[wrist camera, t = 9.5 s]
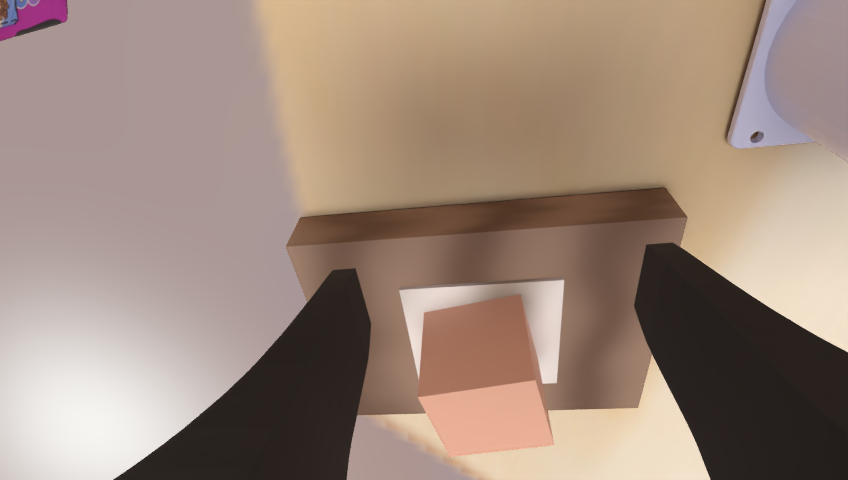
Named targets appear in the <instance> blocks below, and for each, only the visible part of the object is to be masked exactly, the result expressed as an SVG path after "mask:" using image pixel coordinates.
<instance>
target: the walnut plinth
mask: <svg viewBox="0 0 848 480" xmlns="http://www.w3.org/2000/svg"><path fill="white" fill-rule="evenodd" d="M686 221H687V216H686V214H685V213H684V212H683V211H682V209H681V208H680V207H679V205H678V204H677V203H676V201H675V200H674V199H673V197H672V196H671V195H670V193H669V192H668V191H667V190H666V188H658V189H646V190H634V191H622V192H609V193H597V194H585V195H572V196H560V197H548V198H536V199H523V200H511V201H499V202H487V203H474V204H462V205H450V206H438V207H425V208H413V209H401V210H388V211H376V212H364V213H352V214H339V215H327V216H315V217H303V218H300V219H299V221H298V223H297V225H296V227H295V229H294V231H293V233H292V235H291V237H290V239H289V242H288V243H287V245H286V249H287V251H288V254H289V256H290V259H291V261H292V264H293V266H294V269H295V272H296V274H297V277H298V279H299V282H300V284H301V287H302V289H303V292H304V295H305V297H306V300H307V302H308V301H309V300H310V299H311V297H312V296H313V295H314V293H315V292H316V291H317V289H318V288H319V287H320V285H321V284H322V283H323V281H324V280H325V279H326V278H327V276H328V275H329V274H330V273H331V272H332V270H339V269H352V268H356V272H357V275H358V279H359V282H360V286H361V289H362V293H363V296H364V300H365V303H366V307H367V310H368V314H369V317H370V321H371V334H370V348H369V359H368V364H367V369H366V374H365V379H364V384H363V389H362V394H361V398H360V403H359V408H358V413H357V415H381V414H419V413H426V412H425V410H424V408H423V406H422V404H421V403H420V401H419V399H418V387H419V373H420V360H421V346H422V333H423V319H424V312H430V311H435V310H440V309H445V308H450V307H456V306H461V305H466V304H471V303H477V302H482V301H487V300H492V299H497V298H503V297H508V296H513V295H518V294H521V297H522V301H523V305H524V309H525V312H526V316H527V320H528V323H529V327H530V331H531V335H532V338H533V342H534V346H535V350H536V353H537V357H538V362H539V367H540V373H541V378H542V383H543V389H544V394H545V399H546V405H547V410H574V409H613V408H638V406H639V402H640V398H641V394H642V390H643V387H644V383H645V379H646V375H647V371H648V367H649V363H650V360H651V356H652V353H651V351H650V349H649V347H648V345H647V342H646V340H645V337H644V334H643V331H642V329H641V326H640V323H639V320H638V317H637V314H636V311H635V308H634V302H635V297H636V292H637V287H638V282H639V277H640V273H641V268H642V263H643V258H644V253H645V248H646V244H659V243H671V242H673V243H674V244H676V245H678V246H679V247H680V244H681V241H682V237H683V233H684V229H685V225H686Z"/></svg>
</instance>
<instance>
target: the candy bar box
mask: <svg viewBox="0 0 848 480" xmlns="http://www.w3.org/2000/svg"><path fill="white" fill-rule="evenodd" d="M67 13H68V11H67V0H0V41H2V40H6V39H9V38H12V37H16V36H20V35H23V34H26V33H30V32H33V31H37V30H40V29H44V28H47V27H50V26H54V25H57V24H60V23H63V22H66V21H67Z"/></svg>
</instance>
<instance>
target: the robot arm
mask: <svg viewBox="0 0 848 480" xmlns="http://www.w3.org/2000/svg"><path fill="white" fill-rule="evenodd" d="M758 131H759V133H758V135H757V136H756V137H755V138H753V139H750V137H751V136H752V134H754V133H755V132H758ZM727 141H728V143H729V144H730V145H731V146H732V147H734V148H737V149H744V148H755V147H766V146H777V145H788V144H799V143H811V142H817V143H819V144H820V145H822V146H824V147H825V148H827V149H828V150H830V151H831V152H833V153H834V154H836V155H838V156H839V157H841V158H842V159H844V160H845V161H847V162H848V0H766V4H765V7H764V11H763V14H762V18H761V21H760V25H759V28H758V32H757V35H756V39H755V42H754V46H753V49H752V53H751V56H750V60H749V63H748V67H747V70H746V74H745V77H744V80H743V84H742V87H741V91H740V94H739V98H738V101H737V105H736V108H735V112H734V115H733V119H732V122H731V126H730V129H729V133H728V137H727ZM634 308H635V311H636V314H637V317H638V320H639V323H640V326H641V329H642V331H643V334H644V337H645V340H646V342H647V345H648V347H649V349H650V351H651V353H652V355H653V357H654V359H655V361H656V363H657V365H658V367H659V369H660V371H661V373H662V375H663V377H664V379H665V381H666V383H667V385H668V386H669V388H670V390H671V392H672V394H673V396H674V398H675V400H676V402H677V404H678V406H679V408H680V410H681V412H682V414H683V416H684V418H685V420H686V422H687V424H688V426H689V428H690V430H691V432H692V435H693V437H694V439H695V441H696V443H697V446H698V448H699V451H700V453H701V456H702V459H703V461H704V464H705V466H706V469H707V471H708V474H709V477H710V479H711V480H848V352H846V351H844V350H842V349H840V348H838V347H837V346H835V345H833V344H831V343H829V342H827V341H825V340H823V339H822V338H820V337H818V336H816V335H814V334H813V333H811V332H809V331H807V330H806V329H804V328H802V327H801V326H799V325H797V324H796V323H794V322H792V321H791V320H789V319H787V318H786V317H784V316H782V315H781V314H779V313H777V312H776V311H774V310H772V309H771V308H769V307H768V306H766V305H765V304H763V303H761V302H760V301H758V300H757V299H755V298H754V297H752V296H751V295H749V294H748V293H746V292H745V291H743V290H742V289H740V288H739V287H737V286H736V285H734V284H733V283H731V282H730V281H728V280H727V279H725V278H724V277H723V276H721V275H720V274H718V273H717V272H715V271H714V270H713V269H711V268H710V267H708V266H707V265H705V264H704V263H702V262H701V261H700V260H698V259H697V258H695V257H694V256H692V255H691V254H690V253H688V252H687V251H685V250H684V249H682V248H681V247H679V246H678V245H676V244H674V243H673V242H671V243H659V244H646V248H645V253H644V258H643V263H642V268H641V273H640V277H639V282H638V287H637V292H636V297H635V302H634ZM370 334H371V321H370V317H369V314H368V310H367V307H366V303H365V300H364V296H363V293H362V289H361V286H360V282H359V279H358V275H357V272H356V268H352V269H339V270H332V272H331V273H330V274H329V275H328V276H327V278H326V279H325V280H324V281H323V283H322V284H321V285H320V287H319V288H318V289H317V291H316V292H315V293H314V295H313V296H312V297H311V299H310V300H309V301H308V302H307V304H306V305H305V306H304V308H303V309H302V310H301V311H300V313H299V314H298V315H297V316H296V318H295V319H294V320H293V321H292V323H291V324H290V325H289V326H288V327H287V329H286V330H285V331H284V332H283V333H282V335H281V336H280V337H279V338H278V339H277V340H276V341H275V343H274V344H273V345H272V346H271V347H270V348H269V349H268V351H267V352H266V353H265V354H264V355H263V356H262V357H261V358H260V359H259V361H258V362H257V363H256V364H255V365H254V366H253V367H252V368H251V369H250V370H249V371H248V372H247V373H246V374H245V375H244V376H243V377H242V378H241V379H240V380H239V381H238V382H236V383H235V384H234V385H233V386H232V387H231V388H230V389H229V390H228V391H227V392H226V393H225V394H224V395H223V396H222V397H220V398H219V399H218V400H217V401H216V402H214V403H213V404H212V405H211V406H210V407H209V408H208V409H206V410H205V411H204V412H203V413H202V414H200V415H199V416H198V417H197V418H196V419H194V420H193V421H192V422H191V423H190V424H189V425H187V426H186V427H185V428H184V429H183V430H181V431H180V432H179V433H177V434H176V435H175V436H173V437H172V438H171V439H169V440H168V441H167V442H166V443H164V444H163V445H162V446H160V447H159V448H158V449H156V450H155V451H154V452H152V453H151V454H149V455H148V456H147V457H145V458H144V459H143V460H141V461H140V462H138V463H137V464H136V465H134V466H133V467H131V468H130V469H128V470H127V471H126V472H124V473H123V474H121V475H120V476H118V477H117V478H115V479H114V480H346V479H347V470H348V461H349V454H350V448H351V441H352V436H353V432H354V427H355V422H356V417H357V413H358V408H359V403H360V398H361V394H362V389H363V384H364V379H365V374H366V369H367V364H368V359H369V348H370Z"/></svg>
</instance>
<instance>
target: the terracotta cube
mask: <svg viewBox="0 0 848 480" xmlns="http://www.w3.org/2000/svg"><path fill="white" fill-rule="evenodd" d="M418 399H419V401H420V403H421V404H422V406H423V408H424V410H425V412H426V414H427V415H428V417H429V419H430V421H431V423H432V424H433V426H434V428H435V430H436V432H437V434H438V435H439V437H440V439H441V441H442V443H443V445H444V446H445V448H446V450H447V452H448V454H449V456H450V457H452V456H461V455H470V454H479V453H488V452H497V451H505V450H514V449H523V448H532V447H541V446H549V445H554V442H553V437H552V431H551V426H550V421H549V415H548V410H547V405H546V399H545V394H544V389H543V383H542V378H541V373H540V367H539V362H538V357H537V353H536V350H535V346H534V342H533V338H532V335H531V331H530V327H529V323H528V320H527V316H526V312H525V309H524V305H523V301H522V297H521V294H518V295H513V296H508V297H503V298H497V299H492V300H487V301H482V302H477V303H471V304H466V305H461V306H456V307H450V308H445V309H440V310H435V311H430V312H424V319H423V333H422V346H421V360H420V373H419V387H418Z"/></svg>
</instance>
